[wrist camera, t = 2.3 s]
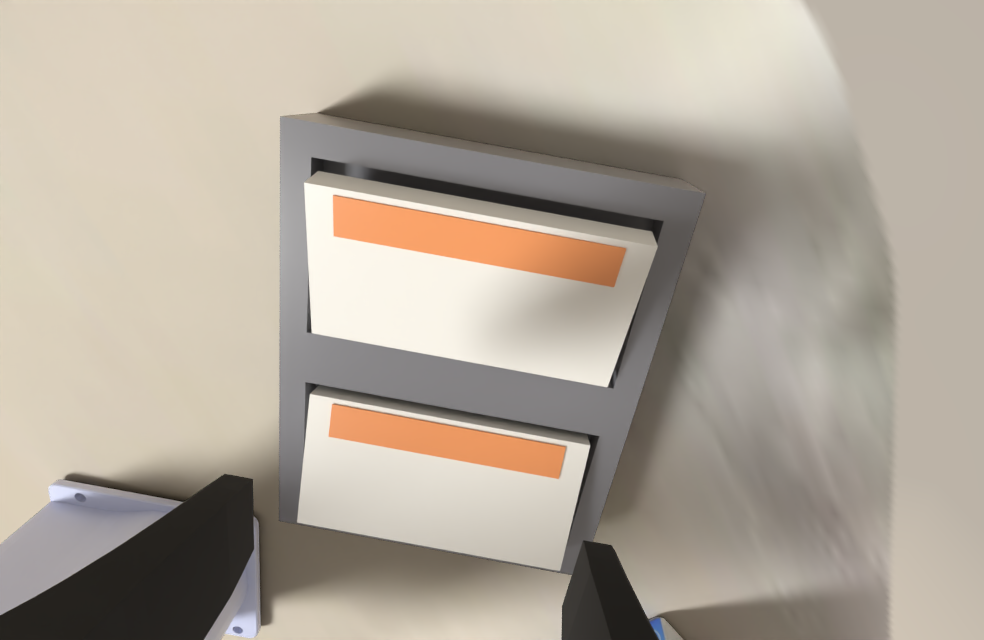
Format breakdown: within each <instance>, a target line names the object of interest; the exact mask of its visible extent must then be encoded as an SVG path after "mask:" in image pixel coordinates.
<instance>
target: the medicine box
mask: <svg viewBox="0 0 984 640" xmlns="http://www.w3.org/2000/svg"><path fill="white" fill-rule="evenodd" d="M649 622H650V624H651V626H652V627H653V629H654V631H655V633H656V635H657V637H658V638H659V640H683V638H682V637H681V636H680V635H679V634H678V633H677V632H676V631H675V630H674V629H673V628H672V626H671V625H670V624H669V623H668V622H667V621H666V620H665V619H664V618H660V617H658V616H657V617H654V618H652V619H649Z"/></svg>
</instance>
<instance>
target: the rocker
mask: <svg viewBox="0 0 984 640" xmlns="http://www.w3.org/2000/svg"><path fill="white" fill-rule="evenodd" d="M304 192H305V212H306V231H307V251H308V270H309V290H310V310H311V329H312V333H313V334H319V335H324V336H330V337H335V338H341V339H346V340H352V341H357V342H363V343H368V344H373V345H379V346H384V347H390V348H395V349H401V350H406V351H412V352H417V353H423V354H428V355H433V356H439V357H444V358H450V359H455V360H461V361H466V362H472V363H477V364H483V365H488V366H493V367H499V368H504V369H510V370H515V371H521V372H526V373H532V374H537V375H543V376H548V377H554V378H559V379H564V380H570V381H575V382H581V383H586V384H592V385H597V386H603V387H608V385H609V382H610V379H611V376H612V373H613V371H614V368H615V365H616V362H617V359H618V357H619V354H620V351H621V348H622V345H623V343H624V340H625V337H626V334H627V331H628V329H629V326H630V323H631V320H632V318H633V315H634V312H635V309H636V306H637V304H638V301H639V298H640V295H641V292H642V290H643V287H644V284H645V281H646V278H647V276H648V273H649V270H650V267H651V264H652V262H653V259H654V256H655V253H656V250H657V248H658V246H657V243H656V241H655V238H654V235H653V232H651V231H646V230H640V229H635V228H629V227H624V226H618V225H613V224H607V223H602V222H596V221H591V220H585V219H580V218H574V217H569V216H563V215H558V214H552V213H547V212H541V211H536V210H530V209H525V208H519V207H514V206H508V205H503V204H497V203H492V202H486V201H481V200H475V199H470V198H465V197H459V196H454V195H448V194H443V193H437V192H432V191H426V190H421V189H415V188H410V187H404V186H399V185H393V184H388V183H382V182H377V181H371V180H366V179H360V178H355V177H349V176H344V175H338V174H333V173H327V172H322V171H317V172H316V173H315V174H314V175H312V176H311V177H310V178H309V179H308V180H306V181H305V182H304Z"/></svg>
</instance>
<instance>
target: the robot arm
mask: <svg viewBox="0 0 984 640" xmlns="http://www.w3.org/2000/svg"><path fill="white" fill-rule="evenodd" d="M49 496H50V500H51V502H50V503H48V504H47V505H46V506H45V507H44V508H42V509H41V510H40V511H39V512H38V513H36V514H35V515H34V516H33V517H32V518H31V519H29V520H28V521H27V522H26V523H25V524H23V525H22V526H21V527H20V528H19V529H18V530H16V531H15V532H14V533H13V534H12V535H10V536H9V537H8V538H7V539H6V540H4V541H3V542H2V543H1V544H0V640H222V638H223V636H224V634H230V635H236V636H241V637H246V638H253V637H255V636H257V634H258V632H259V630H260V628H261V619H260V563H259V523H258V520H257V519H256V518H255V517H254V516H253V479H249V478H244V477H239V476H233V475H228V474H224V475H223V476H221V477H219V478H218V479H216V480H215V481H214V482H212V483H211V484H209V485H208V486H206V487H205V488H203V489H202V490H200V491H199V492H198V493H196V494H195V495H193V496H192V497H190V498H189V499H187V500H186V501H185V502H181V501H176V500H170V499H165V498H160V497H154V496H149V495H143V494H138V493H133V492H127V491H122V490H116V489H111V488H105V487H100V486H95V485H89V484H84V483H78V482H73V481H68V480H57V481H55V482H54V483H53V484H51V485H50V487H49ZM562 640H659V638H658V637H657V635H656V633H655V631H654V629H653V627H652V626H651V624H650V622H649V620H648V618H647V616H646V614H645V612H644V610H643V608H642V606H641V604H640V602H639V600H638V598H637V596H636V594H635V592H634V590H633V588H632V586H631V584H630V582H629V580H628V578H627V576H626V574H625V572H624V569H623V567H622V565H621V563H620V561H619V559H618V556H617V554H616V552H615V550H614V549H613V547H612V546H611V545H607V544H601V543H596V542H590V541H585V540H583V542H582V545H581V548H580V552H579V555H578V558H577V561H576V564H575V567H574V571H573V574H572V577H571V580H570V583H569V586H568V590H567V593H566V596H565V599H564V602H563V605H562Z"/></svg>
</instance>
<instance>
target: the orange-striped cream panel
mask: <svg viewBox="0 0 984 640" xmlns="http://www.w3.org/2000/svg"><path fill="white" fill-rule="evenodd" d="M589 449H590V443H589V439H588V436H587V434H585V433H580V432H574V431H569V430H564V429H558V428H553V427H547V426H542V425H536V424H531V423H525V422H520V421H515V420H509V419H504V418H498V417H493V416H487V415H482V414H476V413H471V412H466V411H460V410H455V409H449V408H444V407H438V406H433V405H427V404H422V403H417V402H411V401H406V400H400V399H395V398H389V397H384V396H378V395H373V394H368V393H362V392H357V391H351V390H346V389H340V388H335V387H329V386H324V385H319V386H318V387H317V388H316V389H315V390H314V391H312V392H311V393H310V398H309V408H308V418H307V428H306V438H305V447H304V457H303V467H302V477H301V487H300V497H299V507H298V517H297V523H302V524H308V525H313V526H318V527H324V528H329V529H335V530H340V531H345V532H351V533H356V534H362V535H367V536H373V537H378V538H383V539H389V540H394V541H400V542H405V543H410V544H416V545H421V546H427V547H432V548H437V549H443V550H448V551H454V552H459V553H464V554H470V555H475V556H481V557H486V558H492V559H497V560H502V561H508V562H513V563H519V564H524V565H529V566H535V567H540V568H546V569H551V570H556V571H560V569H561V565H562V561H563V557H564V553H565V548H566V544H567V540H568V536H569V532H570V528H571V524H572V519H573V515H574V511H575V507H576V503H577V499H578V495H579V491H580V486H581V482H582V478H583V474H584V470H585V466H586V462H587V457H588V453H589Z"/></svg>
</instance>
